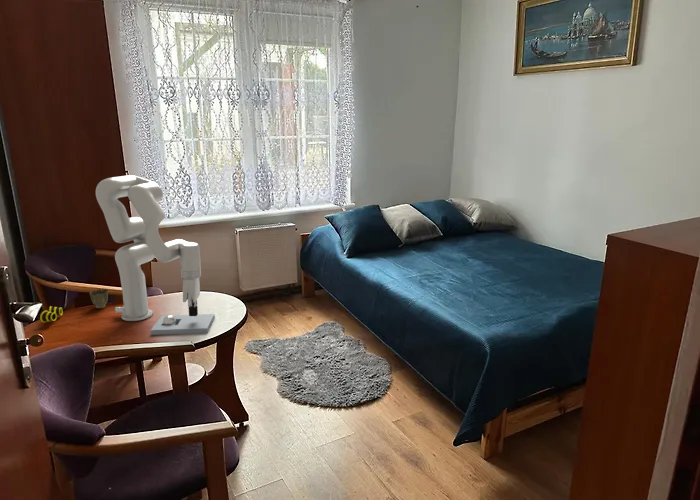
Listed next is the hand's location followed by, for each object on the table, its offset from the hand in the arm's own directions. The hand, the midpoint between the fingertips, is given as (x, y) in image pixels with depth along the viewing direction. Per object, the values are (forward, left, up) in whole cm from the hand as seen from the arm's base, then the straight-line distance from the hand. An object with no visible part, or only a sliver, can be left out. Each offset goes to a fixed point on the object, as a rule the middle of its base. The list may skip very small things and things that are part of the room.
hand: (193, 315), depth 202 cm
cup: (-47, +24, -5) cm, 53 cm away
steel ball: (-10, -1, -2) cm, 10 cm away
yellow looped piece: (-62, +12, -5) cm, 63 cm away
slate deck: (-4, 0, -5) cm, 6 cm away
